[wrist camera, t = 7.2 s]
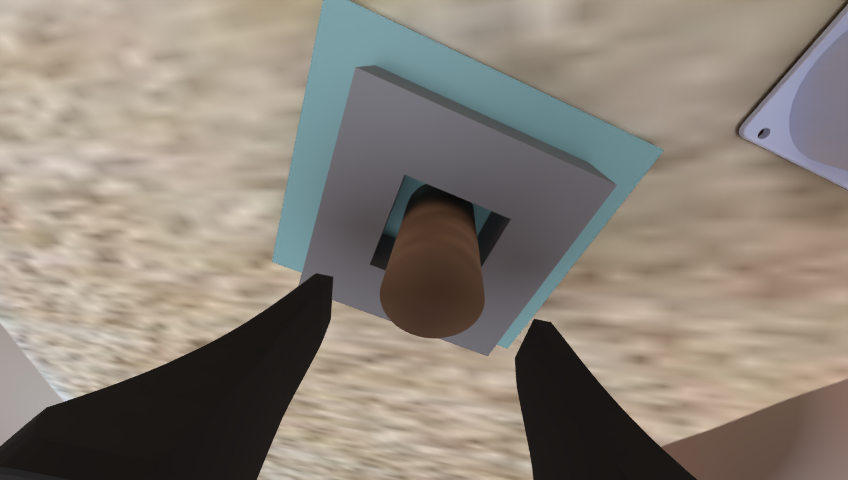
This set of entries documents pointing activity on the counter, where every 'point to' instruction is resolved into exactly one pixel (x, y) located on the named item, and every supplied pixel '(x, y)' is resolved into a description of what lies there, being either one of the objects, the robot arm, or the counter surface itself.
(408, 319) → the peg
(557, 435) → the robot arm
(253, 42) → the counter surface
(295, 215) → the socket board
